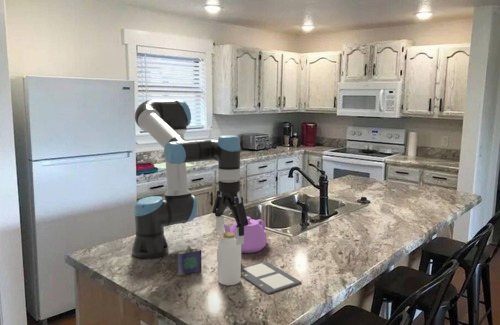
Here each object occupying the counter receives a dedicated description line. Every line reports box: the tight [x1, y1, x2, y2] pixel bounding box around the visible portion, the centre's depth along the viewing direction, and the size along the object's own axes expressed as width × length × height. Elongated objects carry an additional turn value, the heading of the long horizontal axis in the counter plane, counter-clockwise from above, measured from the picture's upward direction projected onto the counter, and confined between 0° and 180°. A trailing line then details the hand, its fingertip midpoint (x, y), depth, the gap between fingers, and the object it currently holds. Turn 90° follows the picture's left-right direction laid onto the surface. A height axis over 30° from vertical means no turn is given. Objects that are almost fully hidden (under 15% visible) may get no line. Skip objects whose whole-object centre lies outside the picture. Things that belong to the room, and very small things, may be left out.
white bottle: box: [217, 232, 242, 286], centre depth 148 cm, size 8×8×18 cm
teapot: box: [224, 216, 267, 254], centre depth 182 cm, size 25×18×14 cm
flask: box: [177, 245, 202, 277], centre depth 156 cm, size 9×3×11 cm, turn 117°
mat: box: [241, 260, 302, 295], centre depth 154 cm, size 15×22×1 cm
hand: (229, 238), depth 147 cm, fingers open, 13 cm apart
